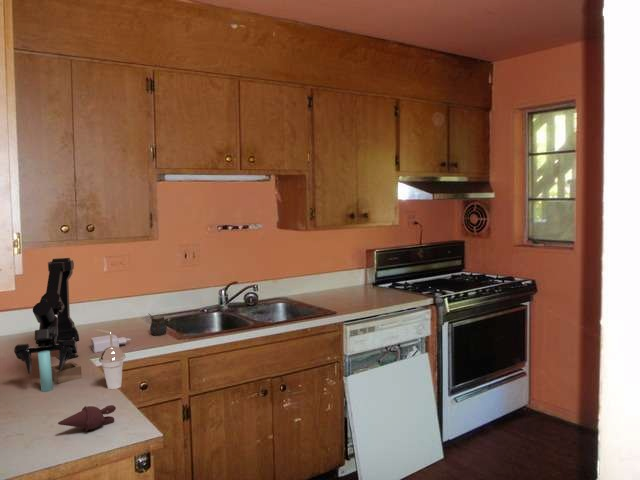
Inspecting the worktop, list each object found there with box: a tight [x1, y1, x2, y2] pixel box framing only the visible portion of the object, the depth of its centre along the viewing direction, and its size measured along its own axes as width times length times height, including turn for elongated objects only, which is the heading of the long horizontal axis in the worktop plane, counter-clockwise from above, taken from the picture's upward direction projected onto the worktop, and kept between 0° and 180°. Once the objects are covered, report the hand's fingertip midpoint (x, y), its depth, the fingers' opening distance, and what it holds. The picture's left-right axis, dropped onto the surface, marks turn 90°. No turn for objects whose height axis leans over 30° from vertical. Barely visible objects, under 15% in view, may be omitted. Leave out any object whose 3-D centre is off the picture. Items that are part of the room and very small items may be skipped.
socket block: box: [51, 361, 83, 385], centre depth 197 cm, size 8×8×4 cm
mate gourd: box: [147, 312, 168, 337], centre depth 249 cm, size 7×8×10 cm
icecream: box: [57, 404, 117, 433], centre depth 155 cm, size 7×7×15 cm
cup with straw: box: [95, 328, 126, 390], centre depth 187 cm, size 8×9×20 cm
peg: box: [37, 351, 54, 393], centre depth 186 cm, size 4×4×13 cm
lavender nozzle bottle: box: [90, 334, 132, 354], centre depth 232 cm, size 5×9×15 cm
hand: (44, 371), depth 185 cm, fingers open, 9 cm apart
